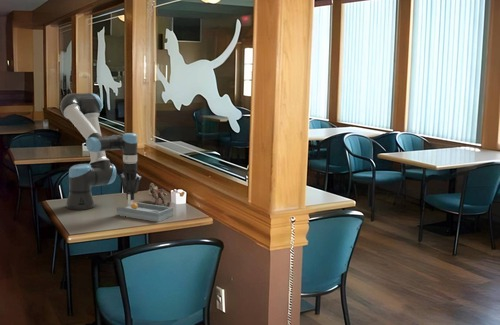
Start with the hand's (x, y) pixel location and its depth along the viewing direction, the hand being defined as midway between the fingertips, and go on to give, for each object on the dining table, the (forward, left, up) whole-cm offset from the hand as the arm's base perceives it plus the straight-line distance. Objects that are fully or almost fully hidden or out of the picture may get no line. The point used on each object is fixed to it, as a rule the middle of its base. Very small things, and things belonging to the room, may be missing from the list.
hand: (130, 205), depth 313 cm
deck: (+9, 0, -4) cm, 10 cm away
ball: (+2, 0, 0) cm, 3 cm away
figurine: (+2, +24, -5) cm, 25 cm away
